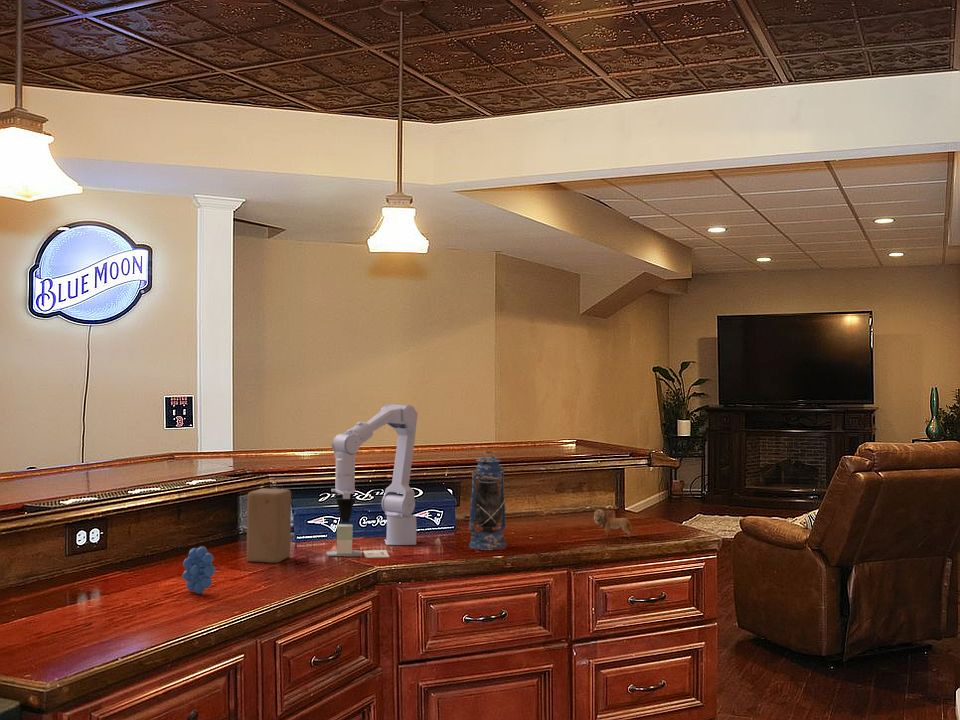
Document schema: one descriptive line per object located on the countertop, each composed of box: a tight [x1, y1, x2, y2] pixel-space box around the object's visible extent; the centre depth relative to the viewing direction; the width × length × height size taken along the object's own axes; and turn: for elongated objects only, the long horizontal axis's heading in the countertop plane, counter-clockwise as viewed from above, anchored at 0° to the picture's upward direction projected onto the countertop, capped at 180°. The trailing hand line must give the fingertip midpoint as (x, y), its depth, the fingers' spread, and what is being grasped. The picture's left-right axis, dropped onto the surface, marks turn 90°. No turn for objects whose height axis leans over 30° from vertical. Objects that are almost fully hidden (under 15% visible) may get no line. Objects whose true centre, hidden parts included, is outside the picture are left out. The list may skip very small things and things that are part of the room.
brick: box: [336, 539, 353, 554], centre depth 298 cm, size 4×4×4 cm
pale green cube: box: [336, 523, 354, 541], centre depth 298 cm, size 4×4×4 cm
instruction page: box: [362, 549, 391, 559], centre depth 299 cm, size 7×10×1 cm
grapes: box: [182, 545, 216, 595], centre depth 248 cm, size 12×7×12 cm, turn 52°
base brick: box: [326, 549, 363, 558], centre depth 297 cm, size 10×5×2 cm, turn 104°
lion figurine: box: [593, 508, 634, 536], centre depth 333 cm, size 15×5×9 cm, turn 72°
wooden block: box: [246, 488, 292, 564], centre depth 289 cm, size 10×10×20 cm
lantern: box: [468, 451, 507, 550], centre depth 312 cm, size 15×12×30 cm
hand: (344, 519), depth 297 cm, fingers open, 7 cm apart
